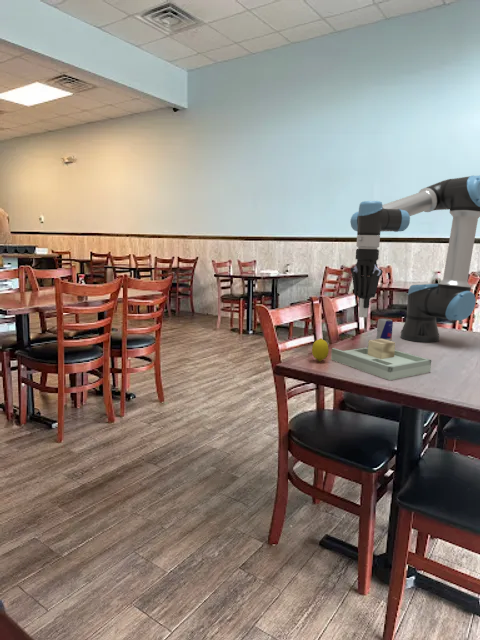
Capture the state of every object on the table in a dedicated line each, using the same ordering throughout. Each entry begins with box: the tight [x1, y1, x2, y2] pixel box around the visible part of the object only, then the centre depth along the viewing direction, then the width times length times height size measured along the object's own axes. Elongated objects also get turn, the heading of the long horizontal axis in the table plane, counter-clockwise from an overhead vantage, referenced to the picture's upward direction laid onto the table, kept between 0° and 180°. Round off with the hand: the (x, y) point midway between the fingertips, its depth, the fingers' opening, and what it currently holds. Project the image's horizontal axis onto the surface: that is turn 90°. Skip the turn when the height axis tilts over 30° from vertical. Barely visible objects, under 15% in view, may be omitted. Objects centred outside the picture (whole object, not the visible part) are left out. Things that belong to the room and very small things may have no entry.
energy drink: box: [375, 318, 394, 342], centre depth 165 cm, size 5×5×12 cm
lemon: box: [311, 338, 330, 362], centre depth 151 cm, size 6×6×8 cm
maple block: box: [367, 338, 396, 359], centre depth 150 cm, size 6×6×5 cm
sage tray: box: [330, 346, 432, 381], centre depth 147 cm, size 18×26×4 cm
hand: (362, 316), depth 156 cm, fingers closed
